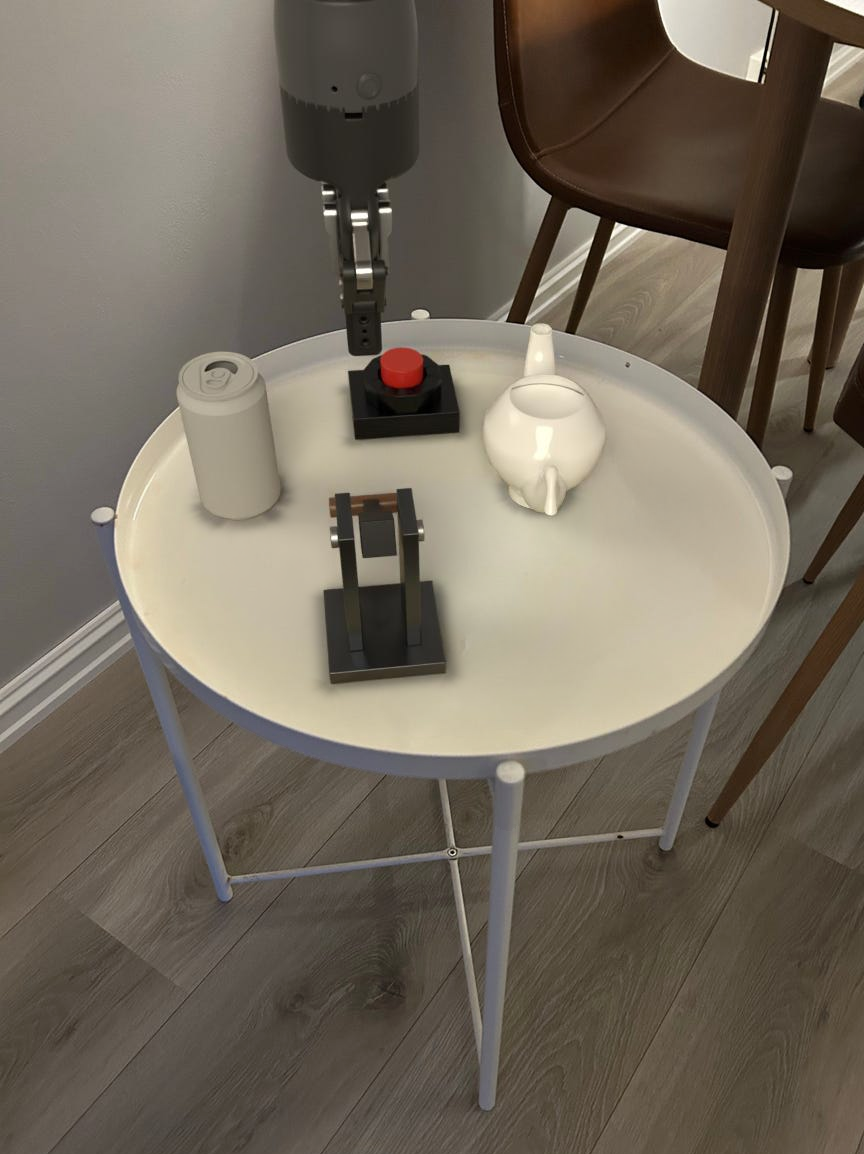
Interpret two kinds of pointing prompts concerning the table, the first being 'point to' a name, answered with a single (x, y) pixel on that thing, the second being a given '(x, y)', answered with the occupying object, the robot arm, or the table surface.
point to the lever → (374, 523)
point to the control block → (403, 403)
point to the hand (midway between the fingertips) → (364, 349)
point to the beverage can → (229, 434)
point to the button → (401, 368)
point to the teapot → (543, 430)
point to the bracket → (382, 608)
